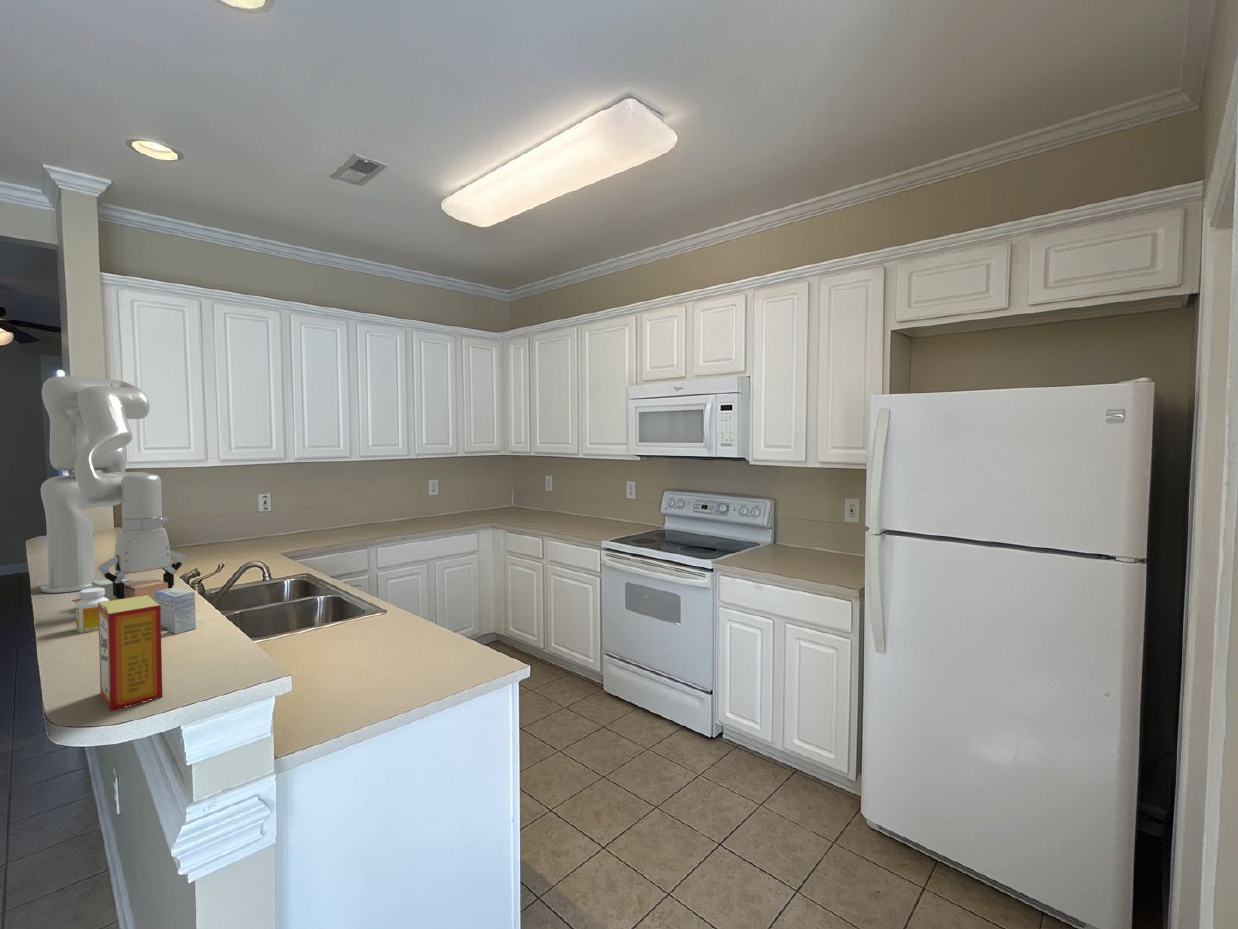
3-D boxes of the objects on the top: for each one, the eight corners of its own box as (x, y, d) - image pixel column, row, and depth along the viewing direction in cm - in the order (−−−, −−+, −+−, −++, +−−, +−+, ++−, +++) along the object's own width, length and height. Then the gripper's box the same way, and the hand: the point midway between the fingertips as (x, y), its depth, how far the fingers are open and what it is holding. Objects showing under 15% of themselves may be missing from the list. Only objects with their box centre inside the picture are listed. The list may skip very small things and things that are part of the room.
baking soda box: (100, 693, 98) (98, 600, 97) (149, 681, 103) (147, 592, 102) (111, 711, 92) (108, 612, 91) (162, 697, 97) (160, 603, 96)
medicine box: (196, 629, 131) (196, 591, 130) (174, 635, 127) (174, 596, 126) (176, 623, 134) (175, 586, 134) (154, 629, 130) (153, 591, 130)
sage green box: (92, 606, 142) (91, 581, 142) (122, 600, 147) (122, 577, 147) (101, 610, 139) (101, 585, 139) (132, 604, 144) (132, 580, 144)
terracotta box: (120, 607, 141) (119, 583, 141) (152, 601, 147) (152, 577, 147) (135, 613, 137) (134, 588, 137) (168, 606, 143) (167, 582, 142)
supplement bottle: (116, 630, 129) (115, 587, 129) (92, 638, 124) (91, 593, 123) (94, 629, 130) (93, 586, 129) (69, 637, 124) (68, 592, 124)
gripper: (177, 519, 150) (178, 584, 151) (90, 527, 136) (93, 600, 136) (190, 521, 146) (192, 588, 147) (103, 530, 132) (105, 604, 132)
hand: (144, 594), depth 142 cm, fingers open, 9 cm apart
